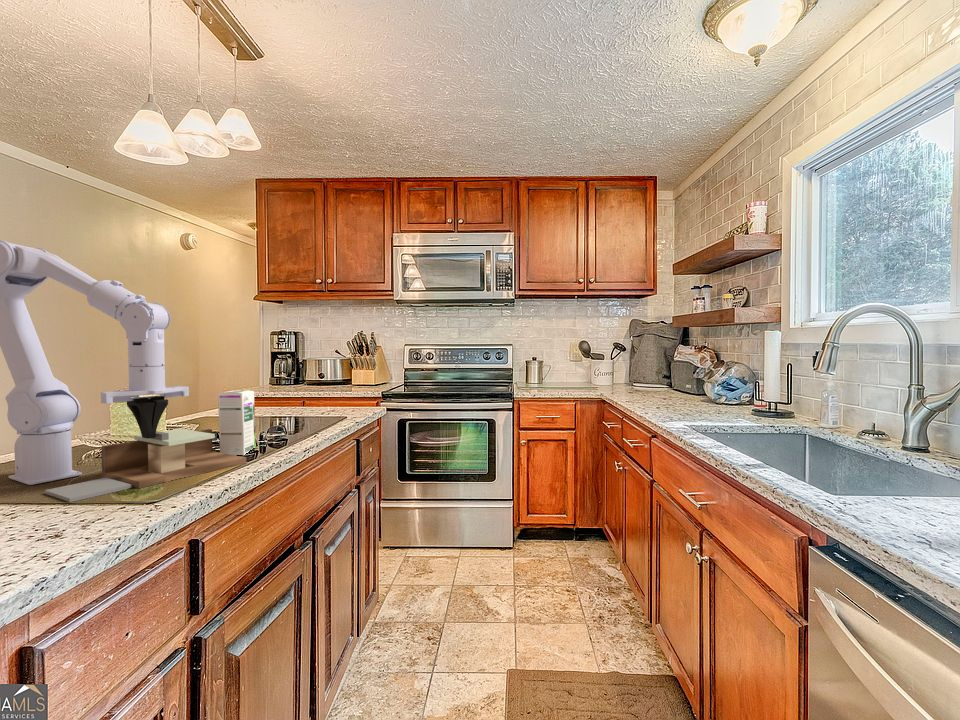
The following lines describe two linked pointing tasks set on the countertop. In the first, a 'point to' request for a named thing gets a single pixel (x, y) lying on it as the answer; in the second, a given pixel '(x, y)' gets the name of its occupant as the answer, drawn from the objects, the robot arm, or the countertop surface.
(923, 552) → the countertop surface
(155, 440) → the cover
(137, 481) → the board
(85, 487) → the mat
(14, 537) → the countertop surface
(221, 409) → the syrup box
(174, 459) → the block
